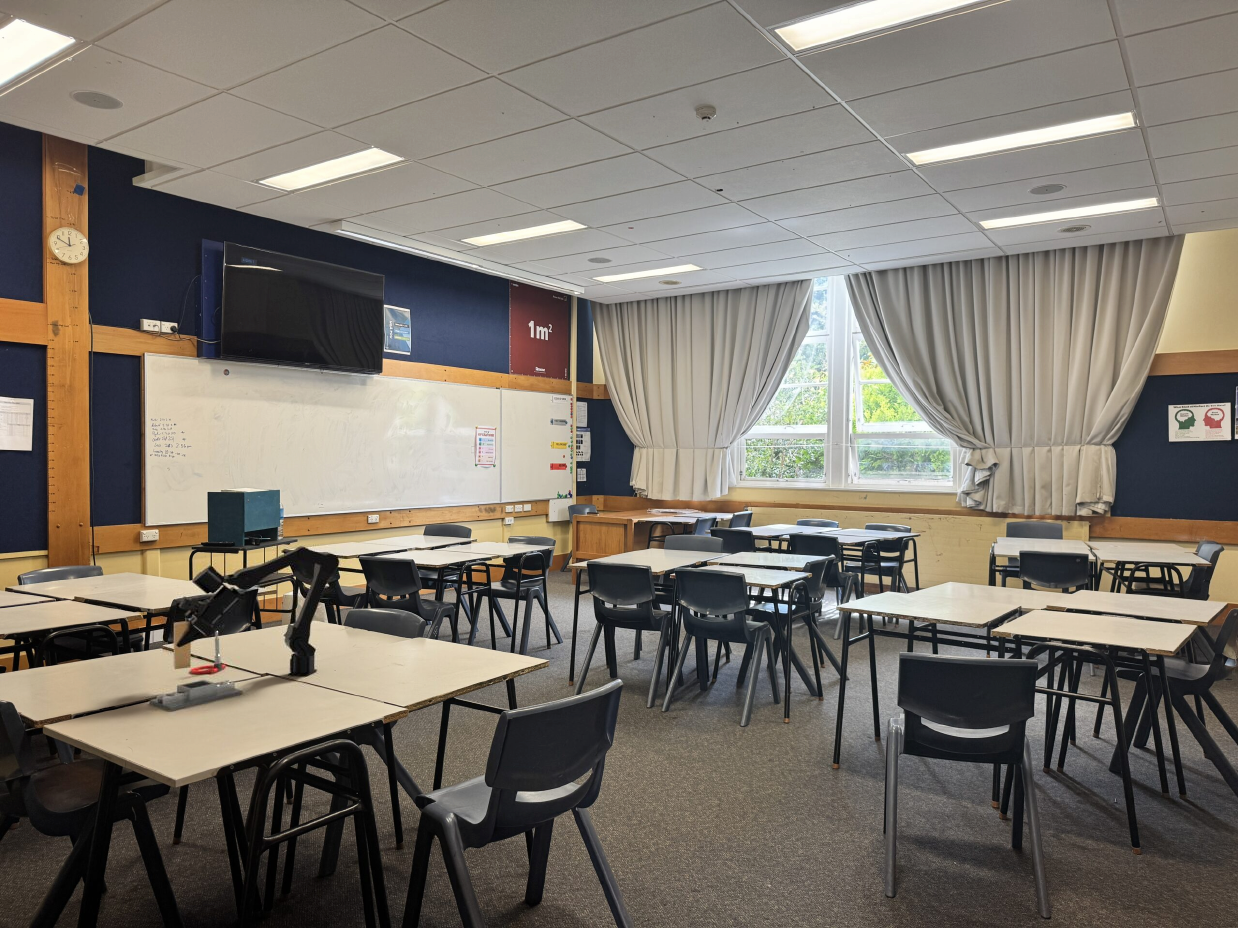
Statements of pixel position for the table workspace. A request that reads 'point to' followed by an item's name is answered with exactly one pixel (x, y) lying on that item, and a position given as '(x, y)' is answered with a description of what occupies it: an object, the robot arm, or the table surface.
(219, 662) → the tow hook
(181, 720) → the table surface
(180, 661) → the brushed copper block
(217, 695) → the grey fixture tray
